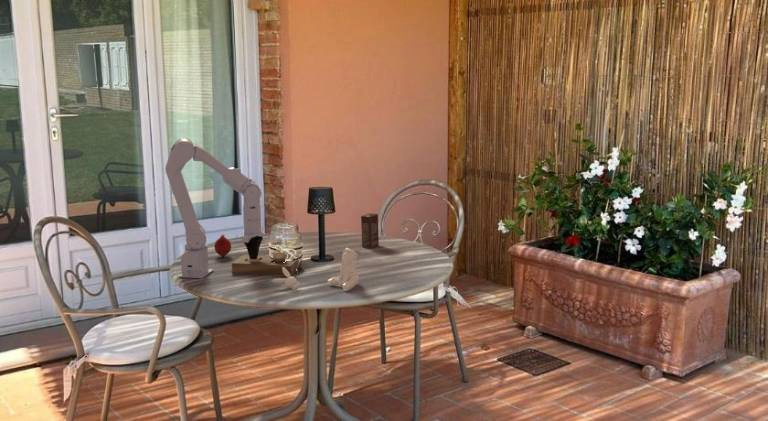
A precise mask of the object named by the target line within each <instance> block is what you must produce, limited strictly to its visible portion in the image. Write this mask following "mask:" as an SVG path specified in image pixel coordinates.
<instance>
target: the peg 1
mask: <svg viewBox="0 0 768 421" xmlns="http://www.w3.org/2000/svg"><path fill="white" fill-rule="evenodd" d="M247 260H248V261H252V262H259V261H260V258H258V257H257V259H250V258H248V259H247Z"/></svg>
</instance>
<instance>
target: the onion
mask: <svg viewBox="0 0 768 421" xmlns="http://www.w3.org/2000/svg"><path fill="white" fill-rule="evenodd" d="M214 250H215V252H216V254H217V255H219V256H220V257H221V258H222V257H226V255H228V254H230V252H231V250H232V244H231V242H230V240H229V239H228V238H227V237H225V234H221V236H220V237H219V238H218V239H216V241H215V242H214Z"/></svg>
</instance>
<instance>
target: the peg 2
mask: <svg viewBox="0 0 768 421" xmlns="http://www.w3.org/2000/svg"><path fill="white" fill-rule="evenodd" d="M276 251H277V250H274V251H272V253H273V255H272V256H273V262H275V263H283V262H285V257H286V253H285V254H284V253H281V252H276Z"/></svg>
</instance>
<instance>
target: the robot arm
mask: <svg viewBox="0 0 768 421" xmlns="http://www.w3.org/2000/svg"><path fill="white" fill-rule="evenodd" d="M190 160H193V162H202V163H204V164H205V165H206V166H208V167H209V168H210V169H212V170H213V171H215V172H216V173H218V174H219V175H221V177H222V182H223V183H224V184H227V186H229V187H230V188H231V189H233V190H234V191H235V192H237V193H238V194H241V195H242V196H243V205H242V214H243V216H242V217H243V218H242V219H243V234H242V236H241V240H242V241H241V242H242V243H243V244H244V245H245V248H246V249H247V250H246V251H247V253H248V254H247V255H249V257H250V259H257V257H258V255H259V251H260V246H261V244H262V242H263V239H264V237H263V236H264V235H265V234H266V232H265V231H264V227H263V226H262V208H261V206H262V204H261V197H262V191H261V189H260V187H259V185H258V184H257V183H256V181H253V179H252V178H251V177H250V178H249V177H247V176H246V175H244V174H243V173H242V171H241V169H240V168H238V167H237V168H235V167H234V166H233V167H227V165H225V164H224V163H222V161H220V160H219V159H217V158H216V157H215V156H214V155H212V154H211V152H209V151H208V150H206V149H205V148H204V147H202V146H200V145H199V144H197V143H195V142H194V144H193V141H192V140H191V139H189V138H187V137H186V138H185V137H183V138H182V137H181V138H179V139H177V140H176V141H175V142H174V144H173V145H172V146H171V148H170V151H169V155H168V157H167V161H166V165H165V168H164V169H165V173H166V177H167V178H168V182H169V184H170V187H171V190H172V194H173V196H174V199H175V202H176V205H177V209H178V211H179V214H180V217H181V220H182V222H183V227H184V229H185V232H184V233H185V242H186V244H184V252H183V254H182V255H181V258H180V266H181V267H180V268H181V274H179V275H178V277H179V278H191V279H203V278H204V277H206V276H208V275H209V274H211V273H212V272H213V271H214V269H213V268H209V252H208V248H209V247H208V243H206V242H207V236H206V230H205V229H204V227H203V226H202V225H201V224H200V222H199V220H198V217H197V214H196V212H195V209H194V206H193V202H192V200H191V199H192V198H191V197H190V194H189V191H188V188H187V185H186V182H185V180H184V176H183V173H182V171H183V169H184V168H185V166H186V164H187V163H188V162H189V161H190ZM261 235H262V236H261Z"/></svg>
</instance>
